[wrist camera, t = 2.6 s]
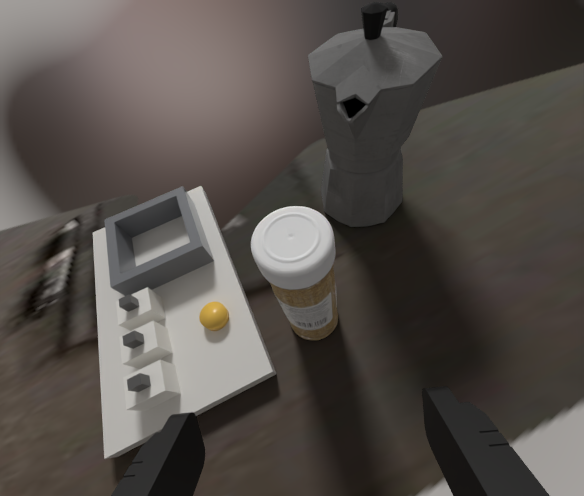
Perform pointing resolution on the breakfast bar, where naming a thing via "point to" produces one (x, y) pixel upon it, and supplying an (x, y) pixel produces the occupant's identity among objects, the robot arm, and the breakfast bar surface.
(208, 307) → the breaker panel
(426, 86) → the coffeepot
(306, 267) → the sprinkles bottle
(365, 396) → the breakfast bar surface
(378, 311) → the breakfast bar surface
